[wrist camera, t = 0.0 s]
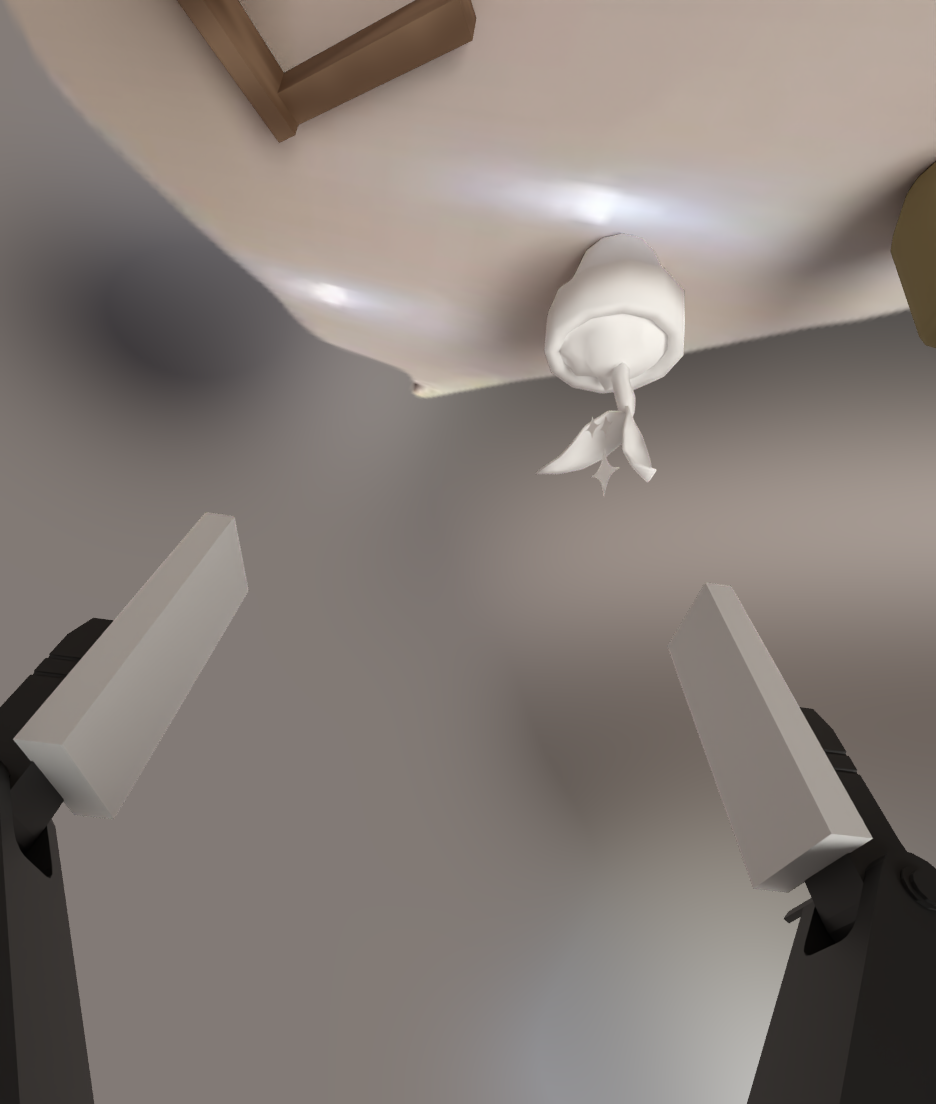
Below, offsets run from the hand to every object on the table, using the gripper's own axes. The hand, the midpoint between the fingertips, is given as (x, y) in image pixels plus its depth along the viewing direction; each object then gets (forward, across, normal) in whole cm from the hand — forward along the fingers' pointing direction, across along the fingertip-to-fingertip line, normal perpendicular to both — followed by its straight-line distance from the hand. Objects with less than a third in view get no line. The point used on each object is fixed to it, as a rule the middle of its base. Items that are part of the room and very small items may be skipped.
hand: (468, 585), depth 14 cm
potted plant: (+42, +11, +4) cm, 43 cm away
